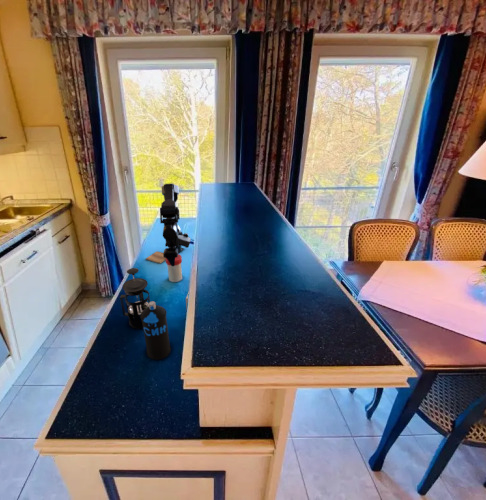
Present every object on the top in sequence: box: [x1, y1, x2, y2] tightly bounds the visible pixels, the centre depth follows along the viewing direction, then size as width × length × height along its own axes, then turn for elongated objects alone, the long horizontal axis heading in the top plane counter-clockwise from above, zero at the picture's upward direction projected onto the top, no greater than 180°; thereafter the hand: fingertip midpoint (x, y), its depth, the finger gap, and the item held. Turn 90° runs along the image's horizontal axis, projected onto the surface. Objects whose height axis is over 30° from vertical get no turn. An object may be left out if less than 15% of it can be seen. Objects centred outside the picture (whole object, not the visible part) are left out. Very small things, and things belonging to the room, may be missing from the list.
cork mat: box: [145, 251, 166, 264], centre depth 157 cm, size 10×10×1 cm
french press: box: [119, 267, 151, 330], centre depth 104 cm, size 12×9×23 cm
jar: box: [166, 262, 183, 283], centre depth 134 cm, size 7×7×11 cm
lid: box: [165, 253, 183, 266], centre depth 132 cm, size 8×8×2 cm
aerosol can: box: [139, 300, 172, 361], centre depth 91 cm, size 8×8×20 cm
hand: (173, 262), depth 132 cm, fingers closed on lid, 7 cm apart
